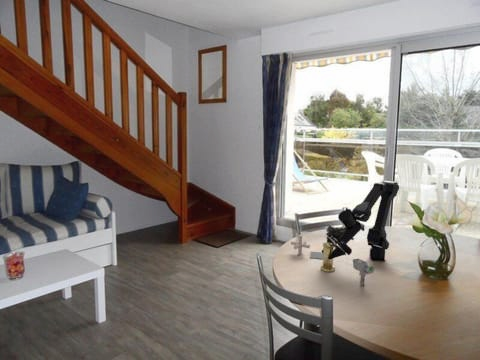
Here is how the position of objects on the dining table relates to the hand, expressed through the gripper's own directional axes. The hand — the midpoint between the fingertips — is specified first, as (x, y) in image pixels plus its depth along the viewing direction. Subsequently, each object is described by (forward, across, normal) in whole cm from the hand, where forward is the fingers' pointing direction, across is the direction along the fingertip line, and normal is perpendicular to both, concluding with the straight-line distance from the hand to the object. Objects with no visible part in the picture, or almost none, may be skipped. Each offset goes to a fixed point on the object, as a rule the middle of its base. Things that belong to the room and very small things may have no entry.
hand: (325, 255), depth 167 cm
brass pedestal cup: (+4, 0, +6) cm, 7 cm away
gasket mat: (+2, -18, +7) cm, 19 cm away
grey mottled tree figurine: (-2, +18, +12) cm, 21 cm away
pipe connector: (+9, -21, +1) cm, 23 cm away
